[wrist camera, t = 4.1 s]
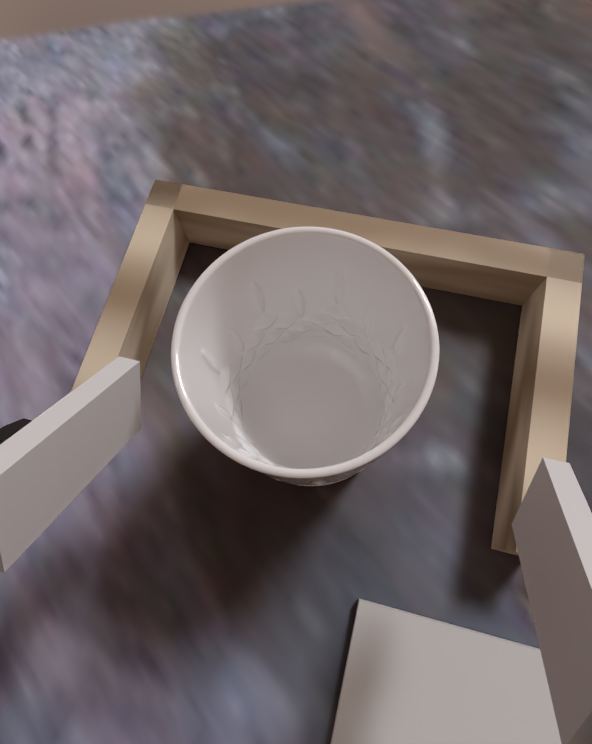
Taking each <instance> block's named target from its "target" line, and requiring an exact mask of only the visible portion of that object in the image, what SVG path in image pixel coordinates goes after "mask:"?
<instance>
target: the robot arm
mask: <svg viewBox="0 0 592 744" xmlns="http://www.w3.org/2000/svg"><path fill="white" fill-rule="evenodd" d="M140 429H141V397H140V361H137V360H132V359H128V358H124V357H120V356H119V357H118V358H116V359H115V360H114V361H112V362H111V363H109V364H108V365H107V366H105V367H104V368H103V369H101V370H100V371H99V372H97V373H96V374H95V375H93V376H92V377H91V378H89V379H88V380H87V381H85V382H84V383H83V384H81V385H80V386H78V387H77V388H76V389H74V390H73V391H72V392H70V393H69V394H68V395H66V396H65V397H64V398H62V399H61V400H60V401H58V402H57V403H56V404H54V405H53V406H52V407H50V408H49V409H47V410H46V411H45V412H43V413H42V414H41V415H39V416H38V417H37V418H35V419H34V420H33V421H31V420H28V419H21V420H19V421H16V422H13V423H11V424H8V425H6V426H4V427H2V428H1V429H0V571H2V572H6V571H7V569H8V568H9V567H10V566H11V565H12V564H13V563H14V562H15V561H16V560H17V559H18V558H19V557H20V556H21V555H22V554H23V553H24V551H25V550H26V549H27V548H28V547H29V546H30V545H31V544H32V543H33V542H34V541H35V540H36V539H37V538H38V537H39V536H40V535H41V534H42V532H43V531H44V530H45V529H46V528H47V527H48V526H49V525H50V524H51V523H52V522H53V521H54V520H55V519H56V518H57V517H58V516H59V515H60V513H61V512H62V511H63V510H64V509H65V508H66V507H67V506H68V505H69V504H70V503H71V502H72V501H73V500H74V499H75V498H76V497H77V495H78V494H79V493H80V492H81V491H82V490H83V489H84V488H85V487H86V486H87V485H88V484H89V483H90V482H91V481H92V480H93V479H94V478H95V476H96V475H97V474H98V473H99V472H100V471H101V470H102V469H103V468H104V467H105V466H106V465H107V464H108V463H109V462H110V461H111V460H112V459H113V457H114V456H115V455H116V454H117V453H118V452H119V451H120V450H121V449H122V448H123V447H124V446H125V445H126V444H127V443H128V442H129V441H130V440H131V438H132V437H133V436H134V435H135V434H136V433H137V432H138V431H139V430H140ZM512 528H513V532H514V537H515V541H516V546H517V550H518V554H519V559H520V563H521V567H522V572H523V576H524V581H525V585H526V589H527V594H528V598H529V603H530V607H531V611H532V616H533V620H534V625H535V629H536V633H537V638H538V642H539V647H540V651H541V655H542V660H543V664H544V669H545V673H546V677H547V682H548V686H549V690H550V695H551V699H552V704H553V708H554V712H555V717H556V721H557V726H558V730H559V734H560V739H561V743H562V744H592V513H591V511H590V508H589V506H588V504H587V502H586V499H585V497H584V495H583V493H582V490H581V488H580V486H579V484H578V481H577V479H576V477H575V475H574V472H573V470H572V468H571V466H570V463H566V462H562V461H557V460H553V459H549V458H545V457H543V458H542V460H541V462H540V464H539V466H538V469H537V471H536V473H535V475H534V477H533V479H532V481H531V484H530V486H529V488H528V490H527V492H526V494H525V497H524V499H523V501H522V503H521V505H520V507H519V509H518V512H517V514H516V516H515V518H514V520H513V522H512Z"/></svg>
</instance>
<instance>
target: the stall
mask: <svg viewBox="0 0 592 744" xmlns="http://www.w3.org/2000/svg"><path fill="white" fill-rule="evenodd" d="M304 226H311V227H325V228H332V229H337V230H341V231H345V232H349V233H352V234H355V235H357V236H360V237H362V238H365V239H367V240H369V241H371V242H373V243H375V244H377V245H378V246H380V247H382V248H383V249H385V250H386V251H387V252H389V253H390V254H392V255H393V256H394V257H395V258H396V259H398V260H399V261H400V262H401V263H402V264H403V265H404V266H405V267H406V268H407V269H408V270H409V271H410V273H411V274H412V275H413V276H414V277H415V279H416V280H417V282H418V283H419V284H420V286H421V287H426V288H432V289H437V290H442V291H447V292H453V293H458V294H463V295H468V296H474V297H479V298H484V299H489V300H495V301H500V302H505V303H510V304H516V305H521V306H522V309H521V317H520V325H519V333H518V341H517V349H516V356H515V364H514V372H513V380H512V388H511V396H510V403H509V411H508V419H507V427H506V435H505V443H504V450H503V458H502V466H501V474H500V482H499V490H498V497H497V505H496V513H495V521H494V529H493V536H492V544H491V549H494V550H498V551H502V552H506V553H509V554H513V555H517V556H519V554H518V550H517V546H516V541H515V537H514V532H513V528H512V522H513V520H514V518H515V516H516V514H517V512H518V509H519V507H520V505H521V503H522V501H523V499H524V497H525V494H526V492H527V490H528V488H529V486H530V484H531V481H532V479H533V477H534V475H535V473H536V471H537V469H538V466H539V464H540V462H541V460H542V458H543V457H545V458H549V459H553V460H557V461H562V462H566V454H567V443H568V432H569V421H570V410H571V399H572V388H573V376H574V365H575V354H576V343H577V332H578V321H579V310H580V299H581V288H582V277H583V266H584V255H585V254H581V253H575V252H569V251H563V250H558V249H552V248H546V247H540V246H534V245H529V244H523V243H517V242H511V241H506V240H500V239H494V238H488V237H483V236H477V235H471V234H465V233H460V232H454V231H448V230H442V229H437V228H431V227H425V226H419V225H414V224H408V223H402V222H396V221H391V220H385V219H379V218H373V217H368V216H362V215H356V214H350V213H345V212H339V211H333V210H327V209H321V208H316V207H310V206H304V205H298V204H293V203H287V202H281V201H275V200H270V199H264V198H258V197H252V196H247V195H241V194H235V193H229V192H224V191H218V190H212V189H206V188H201V187H195V186H189V185H183V184H178V183H172V182H166V181H160V180H155V182H154V184H153V187H152V189H151V192H150V194H149V197H148V199H147V202H146V204H145V207H144V209H143V212H142V214H141V217H140V219H139V222H138V224H137V227H136V229H135V232H134V234H133V237H132V240H131V242H130V245H129V247H128V250H127V252H126V255H125V257H124V260H123V262H122V265H121V267H120V270H119V272H118V275H117V277H116V280H115V282H114V285H113V287H112V290H111V292H110V295H109V297H108V300H107V302H106V305H105V307H104V310H103V312H102V315H101V317H100V320H99V323H98V325H97V328H96V330H95V333H94V335H93V338H92V340H91V343H90V345H89V348H88V350H87V353H86V355H85V358H84V360H83V363H82V365H81V368H80V370H79V373H78V375H77V378H76V380H75V383H74V385H73V388H72V390H71V392H72V391H73V390H74V389H76V388H77V387H78V386H80V385H81V384H83V383H84V382H85V381H87V380H88V379H89V378H91V377H92V376H93V375H95V374H96V373H97V372H99V371H100V370H101V369H103V368H104V367H105V366H107V365H108V364H109V363H111V362H112V361H114V360H115V359H116V358H118V357H119V356H120V357H124V358H128V359H132V360H137V361H140V380H141V377H142V375H143V372H144V369H145V366H146V363H147V361H148V358H149V355H150V352H151V349H152V347H153V344H154V341H155V338H156V335H157V333H158V330H159V327H160V324H161V321H162V319H163V316H164V313H165V310H166V307H167V305H168V302H169V299H170V296H171V293H172V291H173V288H174V285H175V282H176V279H177V277H178V274H179V271H180V268H181V265H182V263H183V260H184V257H185V254H186V251H187V249H188V246H189V243H195V244H200V245H206V246H211V247H216V248H221V249H227V250H230V249H231V248H233V247H235V246H236V245H238V244H240V243H242V242H244V241H246V240H248V239H250V238H253V237H255V236H258V235H260V234H263V233H266V232H270V231H274V230H278V229H284V228H290V227H304Z"/></svg>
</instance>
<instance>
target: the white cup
mask: <svg viewBox="0 0 592 744" xmlns="http://www.w3.org/2000/svg"><path fill="white" fill-rule="evenodd" d="M438 364H439V336H438V329H437V325H436V320H435V317H434V314H433V311H432V308H431V305H430V303H429V301H428V299H427V297H426V295H425V293H424V291H423V289H422V288H421V286H420V284H419V283H418V282H417V280H416V279H415V277H414V276H413V275H412V274H411V273H410V271H409V270H408V269H407V268H406V267H405V266H404V265H403V264H402V263H401V262H400V261H399V260H398V259H396V258H395V257H394V256H393V255H392V254H390V253H389V252H387V251H386V250H385V249H383V248H382V247H380V246H378V245H377V244H375V243H373V242H371V241H369V240H367V239H365V238H362V237H360V236H357V235H355V234H352V233H349V232H345V231H341V230H337V229H332V228H325V227H311V226H304V227H290V228H284V229H278V230H274V231H270V232H266V233H263V234H260V235H258V236H255V237H253V238H250V239H248V240H246V241H244V242H242V243H240V244H238V245H236V246H235V247H233V248H231V249H230V250H228V251H227V252H225V253H224V254H223V255H221V256H220V257H219V258H218V259H216V260H215V261H214V262H213V263H212V264H211V265H210V266H209V267H208V268H207V269H206V270H205V271H204V272H203V273H202V274H201V275H200V277H199V278H198V279H197V280H196V282H195V283H194V285H193V286H192V287H191V289H190V291H189V292H188V294H187V296H186V298H185V299H184V301H183V304H182V306H181V308H180V310H179V313H178V316H177V319H176V322H175V326H174V331H173V336H172V344H171V365H172V373H173V379H174V383H175V387H176V390H177V393H178V396H179V399H180V401H181V403H182V406H183V408H184V410H185V411H186V413H187V415H188V417H189V418H190V420H191V421H192V423H193V424H194V425H195V427H196V428H197V429H198V431H199V432H200V433H201V434H202V435H203V436H204V437H205V438H206V439H207V440H208V441H209V442H210V443H211V444H212V445H213V446H214V447H215V448H217V449H218V450H219V451H220V452H222V453H223V454H225V455H226V456H228V457H229V458H231V459H232V460H234V461H236V462H238V463H240V464H242V465H244V466H246V467H248V468H251V469H253V470H255V471H258V472H260V473H262V474H264V475H266V476H269V477H271V478H274V479H276V480H278V481H282V482H285V483H290V484H294V485H300V486H323V485H328V484H333V483H338V482H340V481H342V480H345V479H347V478H349V477H351V476H353V475H355V474H357V473H359V472H361V471H362V470H363V469H365V468H366V467H368V466H369V465H370V464H372V463H373V462H374V461H375V460H377V459H378V458H379V457H380V456H381V455H382V454H384V453H385V452H386V451H387V450H389V449H390V448H391V447H393V446H394V445H395V444H396V443H397V442H398V441H399V440H400V439H401V438H402V437H403V436H404V435H405V434H406V433H407V432H408V431H409V430H410V429H411V427H412V426H413V425H414V423H415V422H416V421H417V419H418V418H419V416H420V415H421V413H422V411H423V410H424V408H425V406H426V404H427V402H428V400H429V397H430V395H431V393H432V390H433V387H434V384H435V380H436V376H437V371H438Z"/></svg>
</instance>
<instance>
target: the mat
mask: <svg viewBox="0 0 592 744" xmlns="http://www.w3.org/2000/svg"><path fill="white" fill-rule="evenodd" d="M330 744H562V743H561V739H560V734H559V730H558V726H557V721H556V717H555V712H554V708H553V704H552V699H551V695H550V690H549V686H548V682H547V677H546V673H545V669H544V664H543V660H542V655H541V651H540V649H538V648H534V647H531V646H527V645H523V644H520V643H516V642H513V641H509V640H506V639H502V638H498V637H495V636H491V635H488V634H484V633H481V632H477V631H473V630H470V629H466V628H463V627H459V626H456V625H452V624H448V623H445V622H441V621H438V620H434V619H431V618H427V617H423V616H420V615H416V614H413V613H409V612H406V611H402V610H398V609H395V608H391V607H388V606H384V605H381V604H377V603H373V602H370V601H366V600H363V599H359V600H358V605H357V610H356V615H355V620H354V625H353V630H352V635H351V640H350V645H349V651H348V656H347V661H346V666H345V671H344V676H343V681H342V686H341V691H340V696H339V702H338V707H337V712H336V717H335V722H334V727H333V732H332V737H331V742H330Z"/></svg>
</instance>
